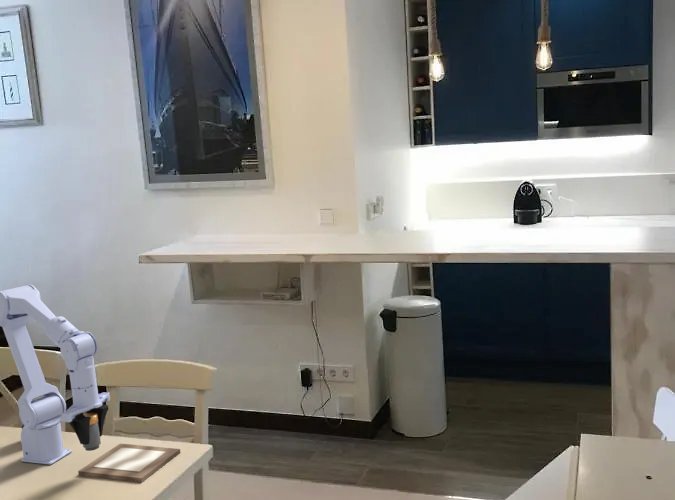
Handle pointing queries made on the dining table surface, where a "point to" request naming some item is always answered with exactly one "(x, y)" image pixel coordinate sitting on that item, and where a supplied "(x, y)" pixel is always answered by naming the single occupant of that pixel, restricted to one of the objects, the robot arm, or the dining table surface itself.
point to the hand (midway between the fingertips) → (91, 439)
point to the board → (129, 462)
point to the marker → (93, 433)
